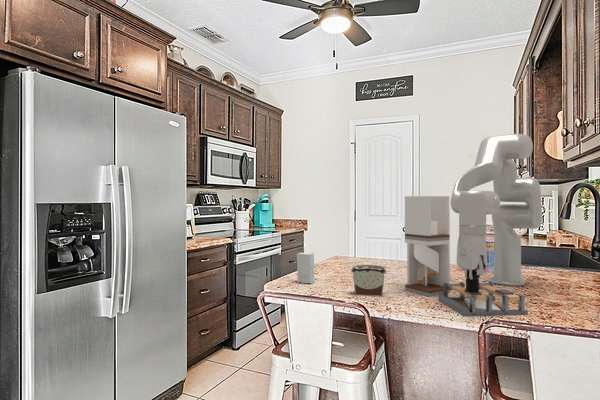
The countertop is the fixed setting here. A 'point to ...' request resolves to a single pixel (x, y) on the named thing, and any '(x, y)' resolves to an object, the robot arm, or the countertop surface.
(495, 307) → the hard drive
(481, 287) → the strap
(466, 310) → the grey dish rack
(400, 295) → the countertop surface
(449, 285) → the strap
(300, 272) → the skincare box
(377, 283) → the food container
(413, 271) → the white dispenser tower
